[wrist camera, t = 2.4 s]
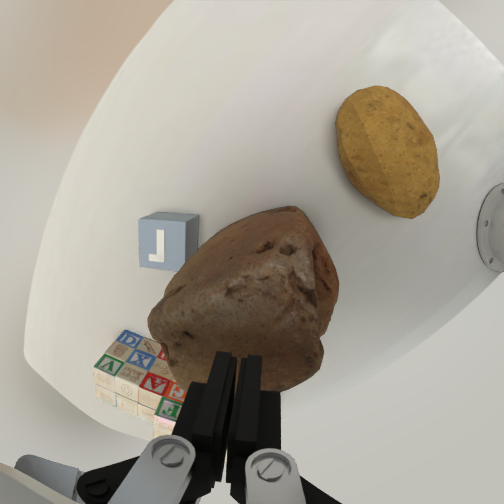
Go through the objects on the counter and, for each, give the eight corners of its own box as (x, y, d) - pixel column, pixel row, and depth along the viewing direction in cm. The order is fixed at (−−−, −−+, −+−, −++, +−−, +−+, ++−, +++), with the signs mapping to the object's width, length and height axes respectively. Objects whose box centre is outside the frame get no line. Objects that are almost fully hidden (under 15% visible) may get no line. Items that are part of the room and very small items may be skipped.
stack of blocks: (123, 360, 38) (84, 412, 26) (125, 328, 36) (79, 380, 24) (258, 405, 38) (251, 471, 26) (271, 376, 36) (268, 446, 24)
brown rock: (236, 290, 33) (193, 423, 14) (206, 233, 31) (113, 319, 12) (323, 253, 31) (384, 364, 12) (296, 190, 29) (335, 220, 10)
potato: (383, 247, 21) (472, 208, 19) (317, 90, 19) (414, 62, 16) (362, 227, 30) (431, 199, 28) (314, 116, 28) (387, 91, 25)
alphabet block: (199, 214, 31) (184, 222, 26) (197, 258, 32) (184, 273, 27) (157, 211, 31) (137, 219, 26) (157, 253, 33) (138, 267, 28)
